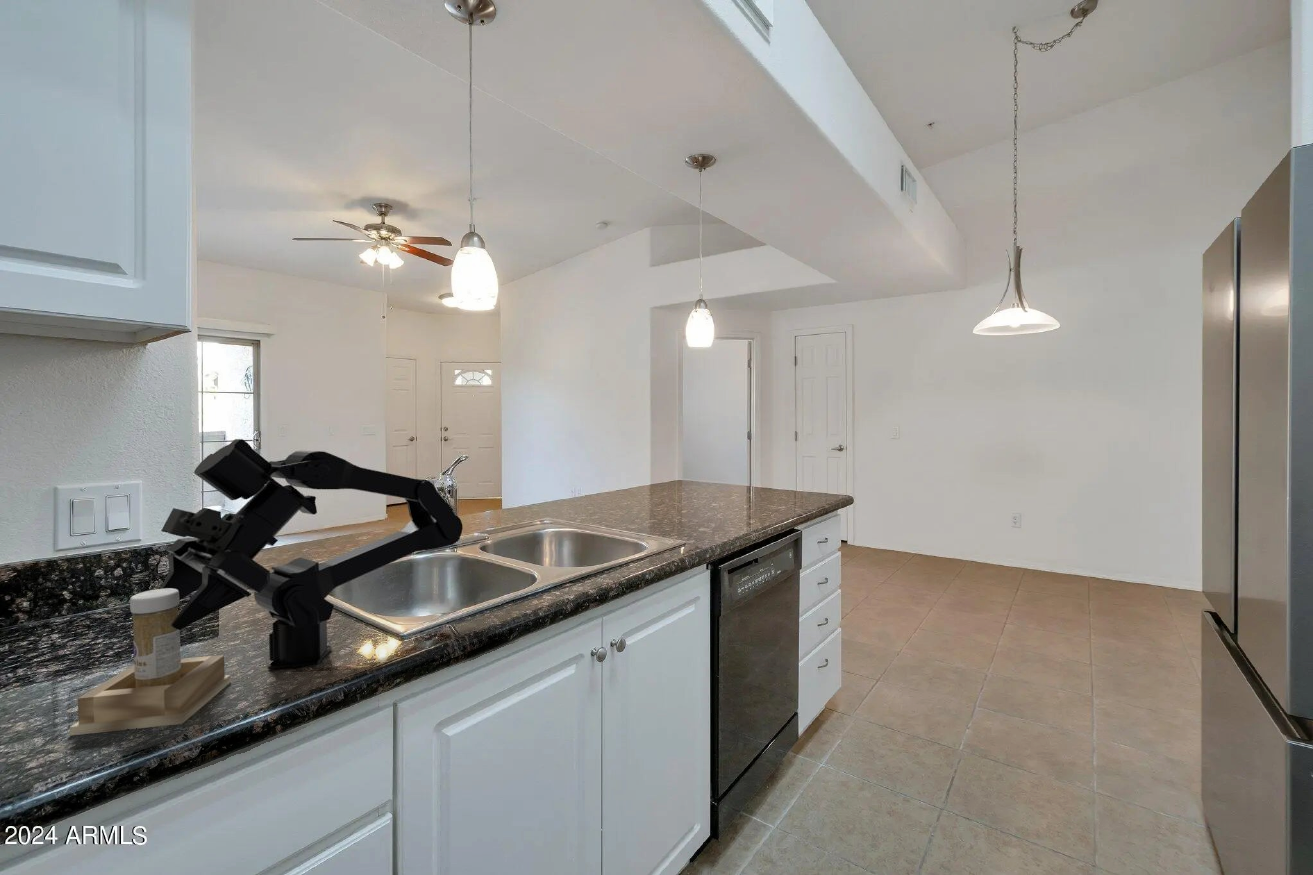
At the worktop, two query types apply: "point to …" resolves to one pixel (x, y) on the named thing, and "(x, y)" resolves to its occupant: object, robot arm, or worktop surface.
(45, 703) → the worktop surface
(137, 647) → the sprinkles bottle
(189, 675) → the caddy
